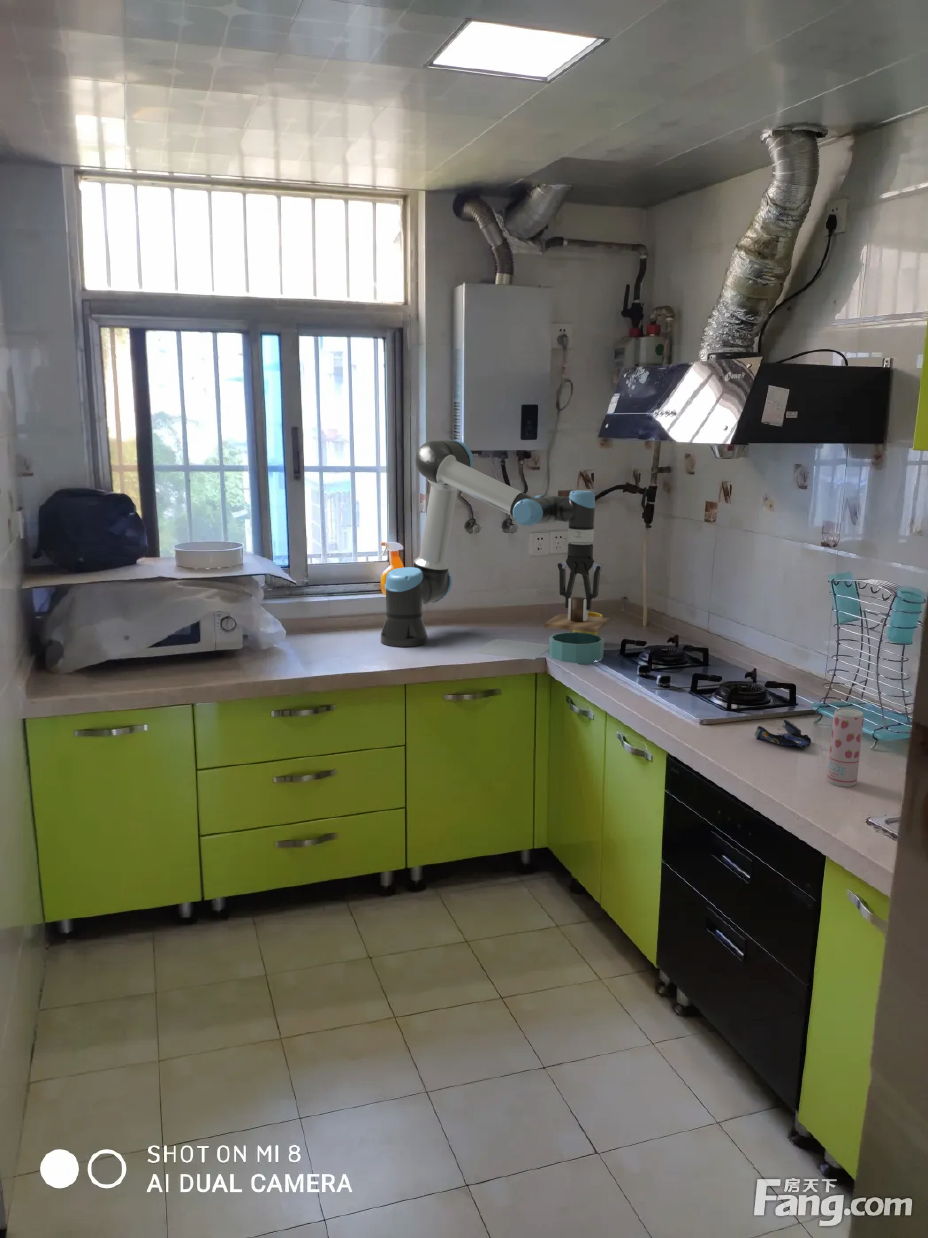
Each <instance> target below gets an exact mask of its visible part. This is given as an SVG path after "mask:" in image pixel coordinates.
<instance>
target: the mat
mask: <svg viewBox="0 0 928 1238" xmlns="http://www.w3.org/2000/svg"><path fill="white" fill-rule="evenodd" d="M547 651H549V643H547V644H546V643H537V642H530V641H529V642H528V641H520V640H519V641H517V640H510V639H503V638H495V639H493V640H491V641H489V642H487V643H485V645H483V646H481V647H479V648H478V649H475V650H474V651H473V652H472V653H473V654H474V653H475V654H483V655H489V656H490V655H492V656H500V657H507V658H508V657H509V658H516V659H523V660H524V659H526V660H536V659H538V658H539V657H540V656H542V655H543V654H545V653H546V652H547Z"/></svg>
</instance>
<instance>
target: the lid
mask: <svg viewBox="0 0 928 1238" xmlns="http://www.w3.org/2000/svg"><path fill="white" fill-rule="evenodd" d="M571 597H572V610H571V620H568V613H559V614H557V615H555V616H554V617H552V618H551V619H549V620H547V621H545V623H544V624H543V625H544V626H543V627H544V628H546V629H547V628H548V629H557V630H567V631H568V630H569V631H573V630H576V631H586V632H598V631H601V630H602V629H603V628H604V627H605V626H607V625H608V624H609V623H610V622H611V618H610V617H592V616H588V620H586V621H583V605H584V599H586V597H583V596H571ZM598 633H599V632H598Z"/></svg>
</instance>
